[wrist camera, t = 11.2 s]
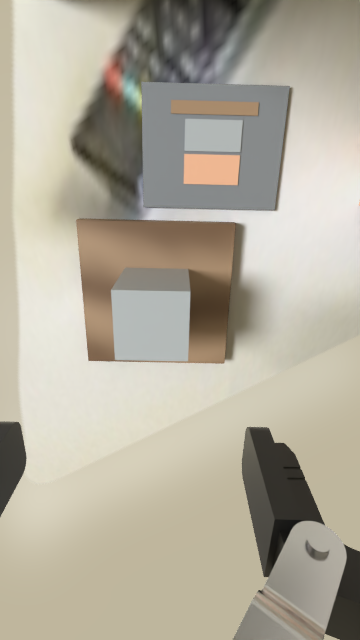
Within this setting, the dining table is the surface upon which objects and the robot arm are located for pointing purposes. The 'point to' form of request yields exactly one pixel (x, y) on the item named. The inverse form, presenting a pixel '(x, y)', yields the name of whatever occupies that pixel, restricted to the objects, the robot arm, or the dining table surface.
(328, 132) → the dining table surface
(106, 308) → the walnut base plate
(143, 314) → the slate brick
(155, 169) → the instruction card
